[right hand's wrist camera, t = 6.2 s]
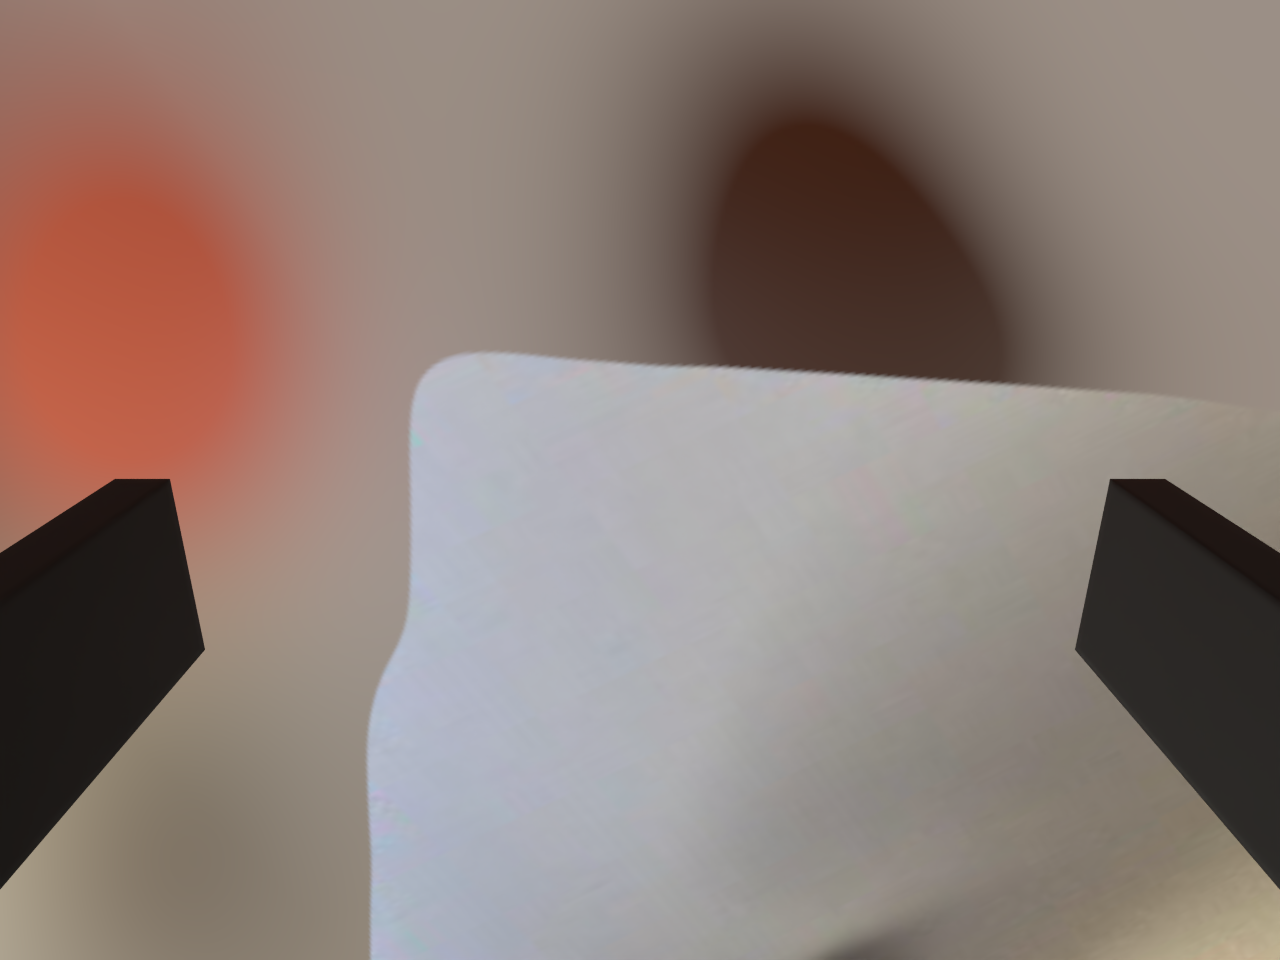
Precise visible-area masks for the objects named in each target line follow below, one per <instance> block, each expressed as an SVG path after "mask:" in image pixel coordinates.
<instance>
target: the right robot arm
mask: <svg viewBox="0 0 1280 960" xmlns="http://www.w3.org/2000/svg"><path fill="white" fill-rule="evenodd" d="M204 650H205V648H204V643H203V638H202V633H201V628H200V623H199V618H198V614H197V609H196V604H195V599H194V594H193V589H192V584H191V580H190V575H189V570H188V565H187V560H186V555H185V550H184V546H183V541H182V536H181V531H180V526H179V521H178V516H177V512H176V507H175V502H174V497H173V492H172V487H171V482H170V479H114V480H113V481H111V482H110V483H108V484H106V485H105V486H103V487H102V488H100V489H99V490H97V491H96V492H94V493H93V494H91V495H89V496H88V497H86V498H85V499H83V500H82V501H80V502H79V503H77V504H76V505H74V506H72V507H71V508H69V509H68V510H66V511H65V512H63V513H62V514H60V515H58V516H57V517H55V518H54V519H52V520H51V521H49V522H48V523H46V524H45V525H43V526H41V527H40V528H38V529H37V530H35V531H34V532H32V533H31V534H29V535H27V536H26V537H24V538H23V539H21V540H20V541H18V542H17V543H15V544H14V545H12V546H10V547H9V548H7V549H6V550H4V551H3V552H1V553H0V889H1V888H2V887H3V885H4V884H5V883H6V882H7V881H8V880H9V878H10V877H11V876H12V875H13V874H14V873H15V871H16V870H17V869H18V868H19V867H20V866H21V864H22V863H23V862H24V861H25V860H26V859H27V857H28V856H29V855H30V854H31V853H32V852H33V850H34V849H35V848H36V847H37V846H38V844H39V843H40V842H41V841H42V840H43V839H44V837H45V836H46V835H47V834H48V833H49V832H50V830H51V829H52V828H53V827H54V826H55V825H56V823H57V822H58V821H59V820H60V819H61V818H62V816H63V815H64V814H65V813H66V812H67V811H68V809H69V808H70V807H71V806H72V805H73V803H74V802H75V801H76V800H77V799H78V798H79V796H80V795H81V794H82V793H83V792H84V791H85V789H86V788H87V787H88V786H89V785H90V784H91V782H92V781H93V780H94V779H95V778H96V777H97V775H98V774H99V773H100V772H101V771H102V770H103V768H104V767H105V766H106V765H107V764H108V763H109V761H110V760H111V759H112V758H113V757H114V756H115V754H116V753H117V752H118V751H119V750H120V748H121V747H122V746H123V745H124V744H125V743H126V741H127V740H128V739H129V738H130V737H131V736H132V734H133V733H134V732H135V731H136V730H137V729H138V727H139V726H140V725H141V724H142V723H143V722H144V720H145V719H146V718H147V717H148V716H149V715H150V713H151V712H152V711H153V710H154V709H155V707H156V706H157V705H158V704H159V703H160V702H161V700H162V699H163V698H164V697H165V696H166V695H167V693H168V692H169V691H170V690H171V689H172V688H173V686H174V685H175V684H176V683H177V682H178V681H179V679H180V678H181V677H182V676H183V675H184V674H185V672H186V671H187V670H188V669H189V668H190V667H191V665H192V664H193V663H194V662H195V661H196V660H197V658H198V657H199V656H200V655H201V654H202V652H203V651H204ZM1075 650H1076V651H1077V652H1078V654H1079V655H1080V656H1081V657H1082V658H1083V660H1084V661H1085V662H1086V663H1087V664H1088V665H1089V667H1090V668H1091V669H1092V670H1093V671H1094V672H1095V674H1096V675H1097V676H1098V677H1099V678H1100V679H1101V681H1102V682H1103V683H1104V684H1105V685H1106V686H1107V688H1108V689H1109V690H1110V691H1111V692H1112V693H1113V695H1114V696H1115V697H1116V698H1117V699H1118V700H1119V702H1120V703H1121V704H1122V705H1123V706H1124V708H1125V709H1126V710H1127V711H1128V712H1129V713H1130V715H1131V716H1132V717H1133V718H1134V719H1135V720H1136V722H1137V723H1138V724H1139V725H1140V726H1141V727H1142V729H1143V730H1144V731H1145V732H1146V733H1147V734H1148V736H1149V737H1150V738H1151V739H1152V740H1153V741H1154V743H1155V744H1156V745H1157V746H1158V747H1159V748H1160V750H1161V751H1162V752H1163V753H1164V754H1165V756H1166V757H1167V758H1168V759H1169V760H1170V761H1171V763H1172V764H1173V765H1174V766H1175V767H1176V768H1177V770H1178V771H1179V772H1180V773H1181V774H1182V775H1183V777H1184V778H1185V779H1186V780H1187V781H1188V782H1189V784H1190V785H1191V786H1192V787H1193V788H1194V789H1195V791H1196V792H1197V793H1198V794H1199V795H1200V796H1201V798H1202V799H1203V800H1204V801H1205V802H1206V804H1207V805H1208V806H1209V807H1210V808H1211V809H1212V811H1213V812H1214V813H1215V814H1216V815H1217V816H1218V818H1219V819H1220V820H1221V821H1222V822H1223V823H1224V825H1225V826H1226V827H1227V828H1228V829H1229V830H1230V832H1231V833H1232V834H1233V835H1234V836H1235V837H1236V839H1237V840H1238V841H1239V842H1240V843H1241V845H1242V846H1243V847H1244V848H1245V849H1246V850H1247V852H1248V853H1249V854H1250V855H1251V856H1252V857H1253V859H1254V860H1255V861H1256V862H1257V863H1258V864H1259V866H1260V867H1261V868H1262V869H1263V870H1264V871H1265V873H1266V874H1267V875H1268V876H1269V877H1270V878H1271V880H1272V881H1273V882H1274V883H1275V884H1276V885H1277V887H1278V888H1279V889H1280V553H1279V552H1277V551H1276V550H1274V549H1273V548H1271V547H1270V546H1268V545H1267V544H1265V543H1263V542H1262V541H1260V540H1259V539H1257V538H1256V537H1254V536H1253V535H1251V534H1249V533H1248V532H1246V531H1245V530H1243V529H1242V528H1240V527H1239V526H1237V525H1236V524H1234V523H1232V522H1231V521H1229V520H1228V519H1226V518H1225V517H1223V516H1222V515H1220V514H1218V513H1217V512H1215V511H1214V510H1212V509H1211V508H1209V507H1208V506H1206V505H1205V504H1203V503H1201V502H1200V501H1198V500H1197V499H1195V498H1194V497H1192V496H1191V495H1189V494H1187V493H1186V492H1184V491H1183V490H1181V489H1180V488H1178V487H1177V486H1175V485H1174V484H1172V483H1170V482H1169V481H1167V480H1166V479H1110V482H1109V487H1108V492H1107V497H1106V502H1105V507H1104V512H1103V516H1102V521H1101V526H1100V531H1099V536H1098V541H1097V546H1096V550H1095V555H1094V560H1093V565H1092V570H1091V575H1090V580H1089V584H1088V589H1087V594H1086V599H1085V604H1084V609H1083V614H1082V618H1081V623H1080V628H1079V633H1078V638H1077V643H1076V648H1075Z"/></svg>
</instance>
